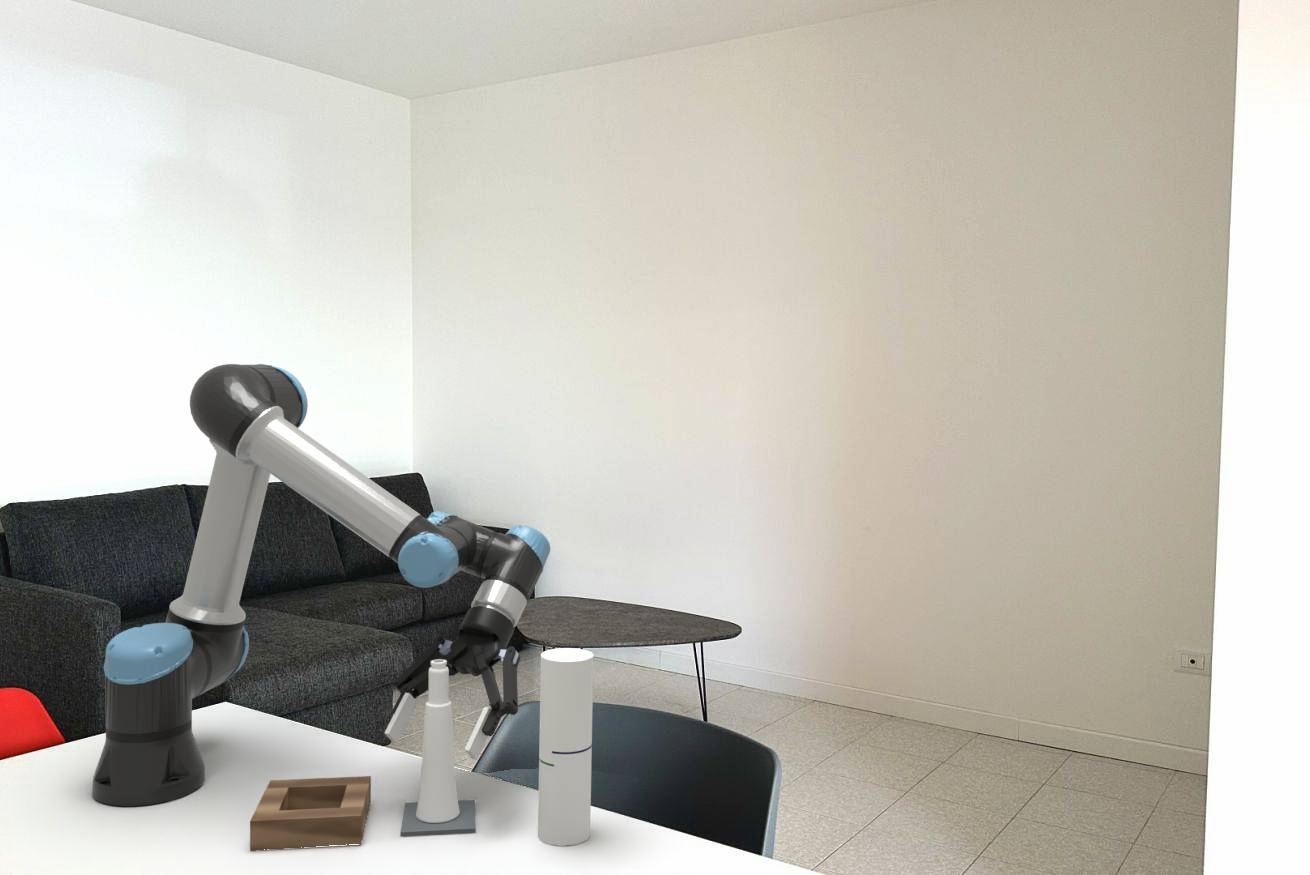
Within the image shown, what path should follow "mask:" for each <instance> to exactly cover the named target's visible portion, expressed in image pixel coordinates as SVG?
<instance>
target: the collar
mask: <svg viewBox="0 0 1310 875" xmlns="http://www.w3.org/2000/svg"><path fill="white" fill-rule="evenodd" d="M371 795H372V776H371V775H367V776H366V775H365V776H364V775H363V776H342V777H341V776H339V777H317V778H314V777H313V778H297V779H295V778H294V779H271V780H269V782H268V784H267V785H266V788H265V790H264V792H263V793H262V796H261V799H260V800H259V802H258V804H257V806H256V808H255V810H254V813H253V814H252V816H251V818H250V820H249V851H250V852H253V851H254V852H256V850H260V851H268V850H267V849H279V850H285V849H284V848H298V849H305V848H304V847H316V846H329V845H346V844H347V845H349V844H361V845H362V842H363V838H364V834H363V833H365V830H364V829H366V825H367V821H368V817H367V816H369V812H368V811H370V808H371V807H370V806H371V804H370V803H371V802H372V801H371V798H372V796H371ZM369 807H370V808H369ZM366 820H367V821H366ZM365 824H366V825H365ZM362 837H363V838H362ZM361 841H362V842H361ZM301 847H302V848H301ZM264 849H265V850H264Z"/></svg>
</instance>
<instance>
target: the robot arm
mask: <svg viewBox="0 0 1310 875" xmlns="http://www.w3.org/2000/svg"><path fill="white" fill-rule="evenodd" d="M189 396H190V397H189V408H190V414H191V415H190V416H192V419H193V422H194V424H195V425H196V426H197V428H198V429H199V430H200V431H201V432H202V434H203V435H205V436H206V437H207V438H208V439H209V440H208V441H209V443H210V444H211V445H212V447H213V448H214V450H215V452H216V455H215V457H214V458H215V459H214V464H213V468H212V471H211V475H210V480H209V484H208V489H207V491H206V496H205V500H204V505H203V509H202V513H201V518H200V520H199V527H198V531H197V534H196V535H197V536H196V538H195V542H194V548H193V551H192V555H191V559H190V563H189V570H188V571H187V572H188V573H187V576H186V581H185V584H184V588H183V593H182V595H181V596H179V597H178V598H176V599H175V600H173V601H171V602H170V604H169V609H168V611H167V615H166V619H165V622H157V623H156V622H154V623H149V624H144V625H142V626H141V627H140V626H136V627H135V626H133V627H132V628H128V629H127V630H126V629H125V630H124V631H122V632H120V633H118V634H115V636H114V637H112V638H111V640H110V641H109V642H108V643H107V646H106V649H105V657H104V658H105V659H104V663H103V672H104V688H105V689H104V690H105V691H104V692H105V694H104V696H105V698H104V701H105V703H104V705H105V740H104V741H105V743H104V745H103V748H102V751H101V754H100V757H99V760H98V762H97V765H96V769H95V771H94V774H93V777H92V797H93V798H94V799H95V800H96V801H97V802H99V803H102V804H107V805H111V806H119V807H135V806H148V805H153V804H154V805H155V804H160V803H164V802H168V801H172V800H176V799H179V798H181V797H184V796H186V795H188V794H191V793H192V792H196V790H198V789H200V788H201V787H202V785H203V784H204V783H205V781H206V780H205V775H206V774H205V770H206V769H205V763H204V760H203V757H202V755H201V751H200V749H199V747H198V744H197V741H196V739H195V736H194V733H193V726H192V724H193V720H192V719H193V714H192V713H193V709H192V708H193V701H192V700H194V699H195V698H197V697H199V696H201V695H202V694H204V693H206V692H208V691H210V690H212V689H214V688H216V687H218V686H221V685H222V684H224V683H225V682H227V681H228V680H229V679H231V678H232V677H233V676H234V675H235V674H236V673H237V672H238V671H239V670H240V669H241V668H242V666H243V665H244V663H245V662H246V659H247V656H248V652H249V650H250V638H249V634H248V631H246V628H245V622H246V617H247V616H246V615H247V614H246V612H245V610H244V609H243V608H242V606H241V605H240V601H241V597H242V592H243V588H244V584H245V579H246V575H247V572H248V568H249V563H250V561H251V555H252V552H253V548H254V543H255V539H256V535H257V530H258V527H259V522H260V518H261V514H262V510H263V505H264V502H265V498H266V494H267V490H268V485H269V481H270V478H271V477H270V476H271V475H272V477H273V476H274V477H275V478H276V479H278V480H279V481H281V482H282V483H283V484H285V485H286V486H287V487H289V488H290V489H292V490H294V491H295V492H296V493H297V494H299V495H301V496H302V497H304V499H306V500H307V501H308V502H311V503H312V504H313V505H315V506H316V507H318V508H319V509H320V510H322V511H323V512H325V514H327V515H328V516H330V517H332V518H333V519H334V520H336V521H337V522H339V523H340V524H342V525H343V526H344V527H346V528H347V529H349V530H350V531H352V532H353V533H355V534H356V535H357V536H358V537H360V538H361V539H363V540H364V541H365V542H367V543H369V544H370V545H371V546H372V547H374V548H376V549H377V550H378V551H380V552H381V553H383V554H384V555H385V556H387V557H388V558H390V559H391V560H393V561H394V562H395V563H396V564H398V569H399V571H400V574H401V576H402V577H403V579H404V581H405V580H406V582H408V583H409V584H410V585H412V586H415V587H418V588H422V589H423V588H425V589H426V588H432V587H435V586H439V585H441V584H444V583H446V582H448V581H449V580H450V579H451V578H453V576H454V575H455V574H458V573H459V572H461V571H462V572H465V573H467V574H470V575H473V576H475V577H478V578H480V579H483V581H482V582H481V585H480V586H479V589H478V590H477V593H476V594H475V596H474V597H473V600H472V602H471V604H470V608H469V609H468V610H467V613H466V614H465V616H464V618H463V620H462V622H461V624H460V626H459V630H458V631H459V632H458V636H457V637H456V638H455V639H454V640H453V641H451V640H448V639H445V636H444V635H438V636H437V637H436V638H435V640H434V641H433V643H432V645H431V646H430V647H429V648H428V649H427V650H426V651H425V652H424V653H423V654H421V656H420V657H418V658H417V659H416V660H415V661H414V662H412V664H411V665H410V666H409V667H408V668H407V669H406V670H405V671H404V672H402V673H401V674H400V675H399V676H398V677H397V678H396V679H395V680H394V681H393V684H392V685H393V686H394V687H395V689H396V690H397V691H398V692H399V694H400V695H399V697H398V698H397V699H396V700H397V701H396V702H395V703H394V706H393V708H392V712H391V714H392V715H393V716H392V717H391V719H390V722H389V723H388V725H387V726H386V729H385V731H384V735H385V736H386V737H387V738H388V740H390V741H391V743H393V744H398V743H399V741H400V739H401V736H402V735H403V733H404V731H405V729H406V727H407V725H408V723H409V721H410V719H411V716H412V715H413V713H414V712H415V709H416V707H417V706H418V701H417V700H416V699H417V698H418V697H419V696H421V695H423V694H424V693H426V692H427V691H429V668H430V667H432V665H431V661H432V660H436V659H443V660H446V661H447V665H446V666H447V667H448V669H449V677H450V676H455V675H456V674H458V673H459V674H461V675H471V676H474V677H479V675H480V676H481V677H482V681H483V685H484V688H485V692H486V696H487V698H488V701H489V703H488V705H489V706H490V707H491V708H490V707H488V706H484V707H483V709H482V710H481V713H480V715H479V718H478V720H477V722H476V724H475V726H474V729H473V730H472V732H471V734H470V737H469V739H468V740H467V744H466V745H465V747H464V751H465V752H466V754H468V756H469V757H470V758H471V759H472V760H476V761H478V759H479V756H480V755H481V753H482V750H483V747H484V745H485V744H486V741H487V739H488V737H492V736H493V735H494V734H495V732H496V730H497V729H498V728H497V727H498V726H499V724H500V721H501V719H502V718H503V717H504V716H505V715H508V714H510V715H512V716H514V715H516V714H517V713H518V712H519V699H518V698H519V697H518V696H519V695H518V670H517V669H518V666H519V663H520V660H521V656H520V654H519V653H518V651H517V650H516V649H515V647H514V646H512V645H510V646H508V645H509V643H510V640H511V638H512V636H513V635H514V631H515V627H517V625H518V623H519V621H520V619H521V616H522V614H523V613H524V611H525V607H526V606H527V604H528V601H529V599H530V597H531V595H532V593H533V591H534V590H535V587H536V585H537V584H538V581H539V578H540V577H541V575H542V573H543V572H544V567H545V565H546V563H547V560H548V557H549V555H550V553H551V545H550V544H551V543H550V542H549V539H548V538H547V537H546V536H545V535H544V534H543V533H542V531H540V530H538V529H537V528H534V527H532V526H529V525H524V526H523V525H521V524H517V525H514V526H511V527H510V528H509V530H508V531H507V532H505V533H502V532H497V531H494V530H493V529H489V528H486V527H485V526H481V525H479V524H476V523H475V522H471V521H468V520H467V519H463V518H462V517H459V516H458V515H456V514H450V513H448V512H444V511H441V510H440V511H439V510H436V511H433V512H431V513H430V515H428V517H427V518H425V517H424V516H423V515H421V514H420V513H419V512H417V511H416V510H414V509H413V508H411V507H410V506H409V505H408V504H406V503H405V502H403V501H402V500H400V499H399V498H398V497H397V496H396V495H393V494H392V493H390V492H389V491H388V490H386V489H385V488H383V487H382V486H380V485H379V484H377V482H375V481H373V480H372V479H371V478H369V477H368V476H366V475H365V474H364V473H363V472H361V471H359V470H358V469H356V468H355V467H354V466H352V465H351V464H350V463H348V462H346V460H344V459H343V458H341V457H340V456H338V455H336V453H334V452H332V451H331V450H330V449H328V448H327V447H325V446H323V445H322V444H321V443H319V442H318V441H317V440H316V439H314V438H312V437H311V436H310V435H308V434H307V433H305V432H304V431H303V430H301V429H300V427H301V426H302V425H303V423H304V421H305V420H306V417H307V413H308V407H309V406H308V396H307V394H306V390H305V388H304V387H303V385H302V383H301V382H300V380H299V379H298V378H297V377H296V375H294V374H293V373H292V372H290V371H288V370H286V369H284V368H282V367H278V366H273V365H271V364H270V365H269V364H264V363H257V364H236V363H226V364H221V365H217V366H214V367H212V368H210V369H209V370H207V371H205V372H204V373H203V374H202V375H201V376H199V378H198V379H197V381H195V383H194V385H193V387H192V390H191V391H190V395H189ZM451 662H452V665H451ZM499 662H502V687H503V688H502V691H503V692H502V693H503V694H502V695H503V700H502V696H501V692H500V690H499V687H498V684H497V680H496V678H497V677H496V673H495V672H494V668H493V666H495V665H496V664H498V663H499Z"/></svg>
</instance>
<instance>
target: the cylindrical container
mask: <svg viewBox="0 0 1310 875" xmlns="http://www.w3.org/2000/svg"><path fill="white" fill-rule="evenodd" d="M539 678H540V680H539V683H540V684H539V685H540V686H539V687H540V688H539V692H540V693H539V696H540V697H539V743H538V744H539V746H538V747H539V749H538V750H539V751H538V756H539V757H538V804H537V806H538V808H537V809H538V810H537V812H538V815H537V816H538V817H537V819H538V820H537V838H538V839H539V840H540V841H541V842H543V843H545V844H547V845H550V846H556V847H557V845H558V847H567V846H566V845H571V846H574V845H575V844H576V845H579V844H582V843H584V842H586V841H587V840H588V839H589V838H590V837H589V836H591V810H592V809H591V808H592V807H591V806H592V800H591V799H592V796H591V794H592V750H593V748H592V747H593V746H592V745H593V744H592V742H593V740H592V739H593V703H594V702H593V701H594V700H593V699H594V696H593V695H594V694H593V693H594V692H593V691H594V652H592V651H590V650H587V649H582V648H576V647H575V648H574V647H562V648H561V647H560V648H552V649H548V650H545V651H543V652H541V654H540V677H539Z"/></svg>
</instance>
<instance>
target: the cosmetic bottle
mask: <svg viewBox="0 0 1310 875" xmlns="http://www.w3.org/2000/svg"><path fill="white" fill-rule="evenodd" d="M431 665H432V667H430V668H429V690H428V700H427V701H426V702H425V705H424V706H425V707H424V722H423V739H422V740H423V741H422V760H421V775H420V776H421V777H420V785H419V793H418V794H419V795H418V801H417V802H418V806H417V811H416V817H417V818H418V819H419V820H420V821H423V822H426V823H443V822H448V821H451V820H453V819H455V818H456V817H457V816H458V815H459V813H460V811H459V805H458V800H459V799H458V794H457V783H456V769H455V752H454V748H455V747H454V725H453V706H452V704H453V702H452V700H450V698H449V695H450V693H449V692H450V691H449V690H450V689H449V688H450V684H449V683H450V682H449V681H450V679H449V678H450V676H449V669H448V667H447V666H446V665H447V661H446V660H443V659H436V660H432V661H431Z"/></svg>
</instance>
